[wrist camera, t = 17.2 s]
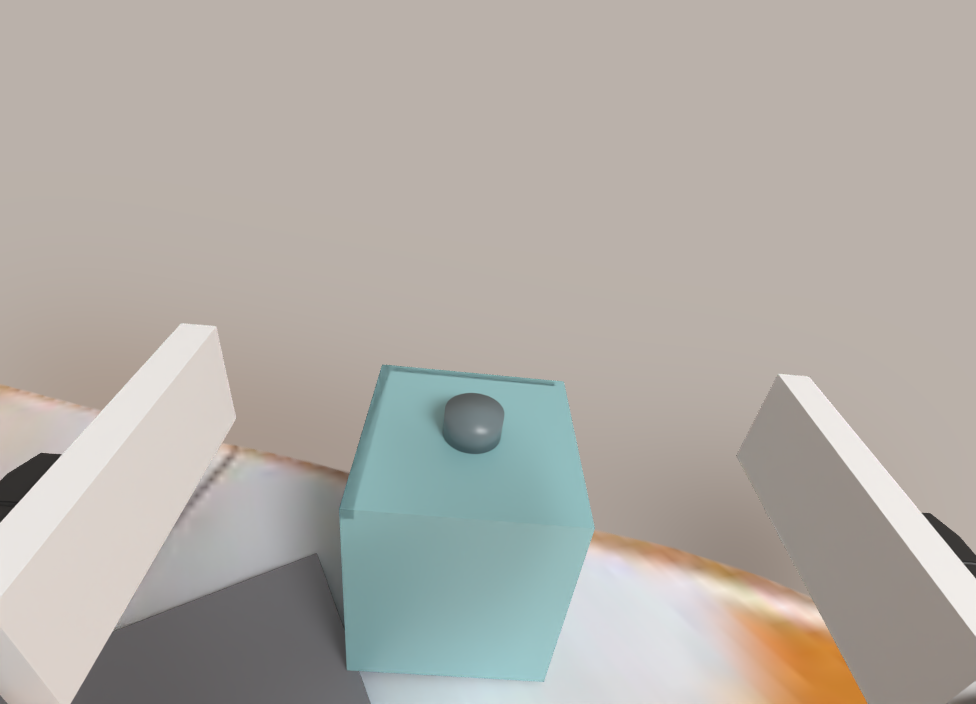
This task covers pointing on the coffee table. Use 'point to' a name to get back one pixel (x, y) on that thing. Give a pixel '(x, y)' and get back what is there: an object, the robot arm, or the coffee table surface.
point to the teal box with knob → (462, 526)
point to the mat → (233, 648)
